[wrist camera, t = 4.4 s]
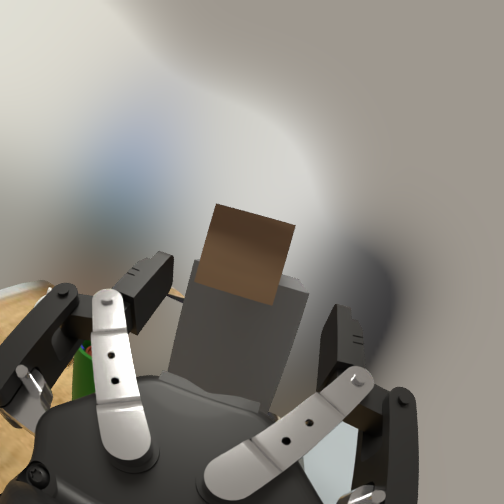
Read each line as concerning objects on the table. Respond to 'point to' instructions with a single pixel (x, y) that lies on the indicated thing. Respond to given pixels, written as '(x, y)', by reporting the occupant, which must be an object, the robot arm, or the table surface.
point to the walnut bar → (244, 254)
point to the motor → (83, 372)
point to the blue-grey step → (332, 463)
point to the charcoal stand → (236, 339)
